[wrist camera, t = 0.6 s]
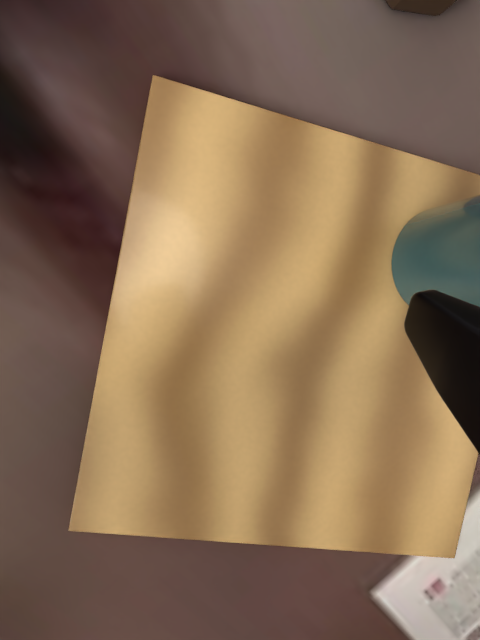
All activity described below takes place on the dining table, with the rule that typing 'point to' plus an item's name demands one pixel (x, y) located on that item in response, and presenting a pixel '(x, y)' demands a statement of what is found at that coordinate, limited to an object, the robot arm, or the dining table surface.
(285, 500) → the mat
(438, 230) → the pot
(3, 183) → the dining table surface
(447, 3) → the beer bottle
